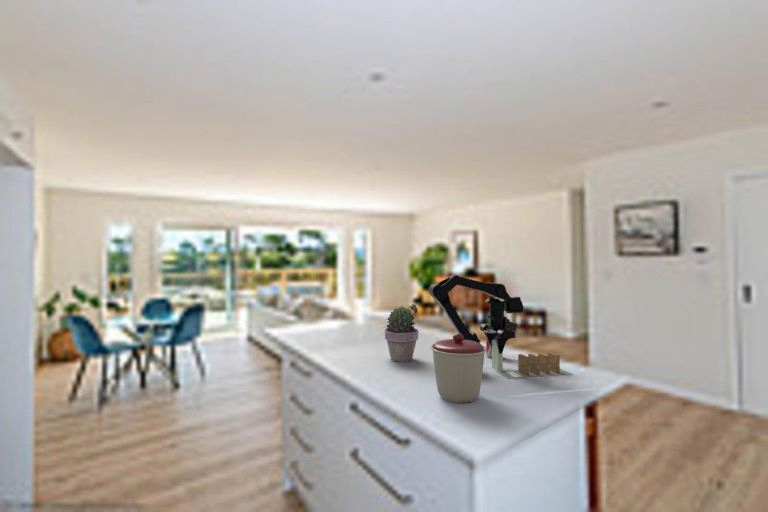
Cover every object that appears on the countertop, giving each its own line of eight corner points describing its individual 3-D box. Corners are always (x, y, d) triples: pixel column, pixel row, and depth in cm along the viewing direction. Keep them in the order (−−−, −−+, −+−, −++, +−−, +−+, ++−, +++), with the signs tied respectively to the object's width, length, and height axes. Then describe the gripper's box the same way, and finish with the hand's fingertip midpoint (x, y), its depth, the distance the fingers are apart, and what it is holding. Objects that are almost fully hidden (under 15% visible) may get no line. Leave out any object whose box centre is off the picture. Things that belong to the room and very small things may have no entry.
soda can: (503, 356, 174) (503, 328, 174) (499, 359, 168) (499, 331, 168) (488, 354, 178) (488, 327, 178) (484, 357, 172) (483, 329, 172)
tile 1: (498, 371, 150) (497, 342, 150) (491, 368, 155) (491, 339, 155) (502, 371, 150) (502, 341, 150) (496, 368, 155) (496, 339, 155)
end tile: (556, 373, 146) (556, 355, 146) (547, 369, 151) (547, 352, 151) (559, 373, 147) (559, 355, 147) (551, 369, 152) (551, 352, 152)
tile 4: (546, 374, 145) (545, 356, 145) (538, 370, 150) (538, 353, 150) (549, 373, 146) (549, 356, 146) (541, 370, 151) (541, 352, 151)
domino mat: (508, 380, 139) (508, 379, 139) (495, 372, 149) (495, 371, 149) (573, 375, 145) (573, 374, 145) (556, 368, 155) (556, 366, 155)
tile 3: (535, 374, 144) (535, 356, 144) (528, 371, 149) (528, 353, 149) (539, 374, 145) (539, 356, 145) (531, 370, 150) (531, 353, 150)
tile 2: (525, 375, 143) (525, 357, 144) (518, 371, 148) (518, 354, 148) (529, 375, 144) (529, 357, 144) (521, 371, 149) (521, 354, 149)
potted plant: (372, 356, 173) (372, 303, 174) (408, 352, 182) (408, 301, 182) (388, 366, 157) (388, 307, 157) (428, 361, 165) (428, 305, 166)
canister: (448, 384, 135) (447, 326, 135) (495, 395, 123) (495, 332, 124) (420, 398, 121) (420, 334, 121) (471, 413, 109) (471, 341, 110)
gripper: (527, 316, 145) (527, 356, 145) (502, 310, 163) (502, 345, 163) (501, 317, 143) (502, 357, 143) (479, 310, 161) (479, 346, 161)
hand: (497, 351), depth 152 cm, fingers open, 6 cm apart
